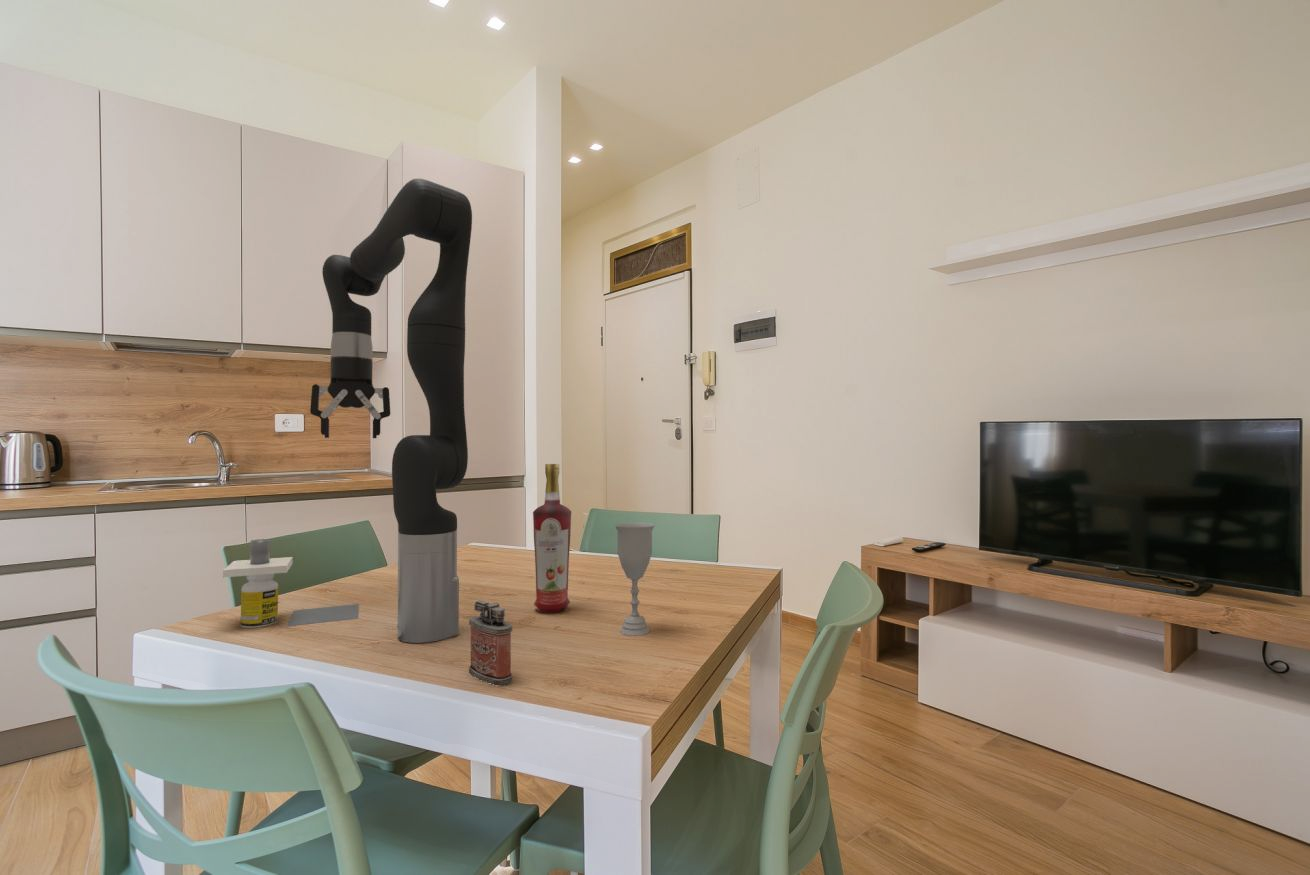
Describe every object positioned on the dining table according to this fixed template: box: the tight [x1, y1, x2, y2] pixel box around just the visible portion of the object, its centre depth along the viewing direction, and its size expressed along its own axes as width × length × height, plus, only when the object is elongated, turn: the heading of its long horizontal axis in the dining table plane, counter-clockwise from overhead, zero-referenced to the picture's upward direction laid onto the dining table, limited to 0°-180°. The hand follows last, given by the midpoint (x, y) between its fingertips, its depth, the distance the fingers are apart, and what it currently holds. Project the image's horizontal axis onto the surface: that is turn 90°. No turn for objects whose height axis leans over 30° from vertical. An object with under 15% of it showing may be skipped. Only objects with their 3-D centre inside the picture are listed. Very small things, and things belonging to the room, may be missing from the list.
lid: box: [222, 538, 294, 578], centre depth 105 cm, size 9×9×5 cm
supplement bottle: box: [240, 574, 279, 629], centre depth 105 cm, size 5×5×10 cm
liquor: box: [532, 463, 572, 614], centre depth 115 cm, size 7×7×28 cm
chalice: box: [614, 521, 656, 636], centre depth 102 cm, size 7×7×18 cm
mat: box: [286, 603, 360, 628], centre depth 110 cm, size 11×11×1 cm
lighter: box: [468, 599, 513, 686], centre depth 82 cm, size 8×3×10 cm, turn 48°
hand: (351, 438), depth 120 cm, fingers open, 8 cm apart
